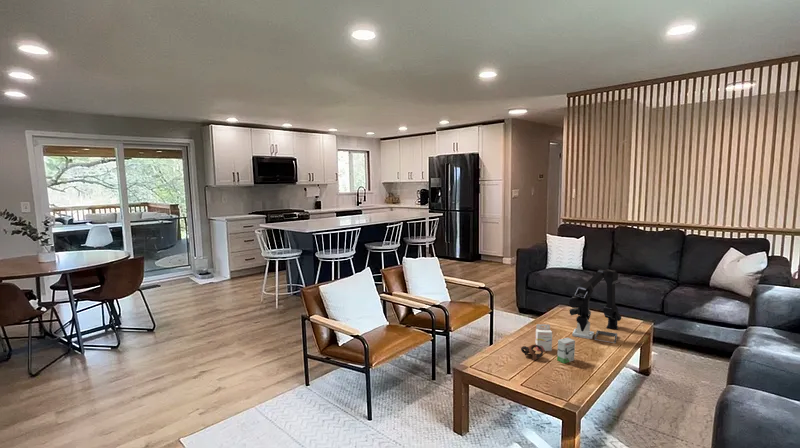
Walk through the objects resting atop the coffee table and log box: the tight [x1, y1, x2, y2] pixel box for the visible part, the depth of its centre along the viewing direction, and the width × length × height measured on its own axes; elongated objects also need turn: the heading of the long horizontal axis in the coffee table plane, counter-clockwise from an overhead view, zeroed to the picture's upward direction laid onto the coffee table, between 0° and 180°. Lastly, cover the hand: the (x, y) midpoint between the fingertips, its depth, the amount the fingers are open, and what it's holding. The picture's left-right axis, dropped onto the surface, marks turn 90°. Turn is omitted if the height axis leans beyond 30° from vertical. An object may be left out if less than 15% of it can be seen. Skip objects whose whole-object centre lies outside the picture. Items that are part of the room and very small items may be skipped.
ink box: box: [556, 337, 576, 364], centre depth 225 cm, size 9×5×12 cm, turn 117°
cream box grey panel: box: [576, 321, 591, 336], centre depth 260 cm, size 5×7×9 cm
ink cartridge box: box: [534, 323, 553, 352], centre depth 240 cm, size 9×5×15 cm, turn 84°
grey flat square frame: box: [594, 329, 618, 344], centre depth 255 cm, size 12×12×2 cm
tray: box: [571, 328, 595, 340], centre depth 260 cm, size 10×12×2 cm
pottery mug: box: [520, 343, 544, 362], centre depth 230 cm, size 12×10×8 cm
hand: (583, 328), depth 260 cm, fingers open, 9 cm apart
